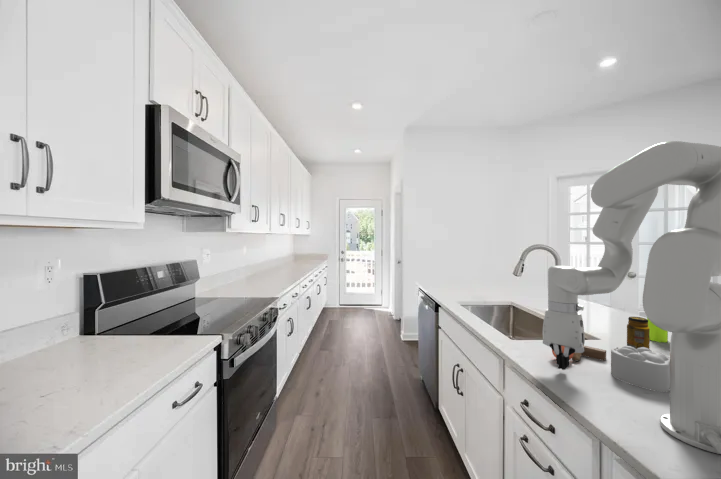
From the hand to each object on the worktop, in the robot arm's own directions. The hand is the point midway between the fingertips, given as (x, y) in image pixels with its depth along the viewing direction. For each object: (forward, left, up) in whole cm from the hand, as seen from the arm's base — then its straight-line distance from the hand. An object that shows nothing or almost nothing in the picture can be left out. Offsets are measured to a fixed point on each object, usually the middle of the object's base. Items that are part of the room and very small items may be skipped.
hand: (562, 367), depth 94 cm
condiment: (+30, -27, -2) cm, 40 cm away
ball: (+11, -2, +2) cm, 11 cm away
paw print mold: (+3, -19, -2) cm, 19 cm away
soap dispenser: (+49, -39, -2) cm, 63 cm away
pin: (+12, -5, 0) cm, 13 cm away
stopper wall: (+19, -9, -2) cm, 22 cm away
